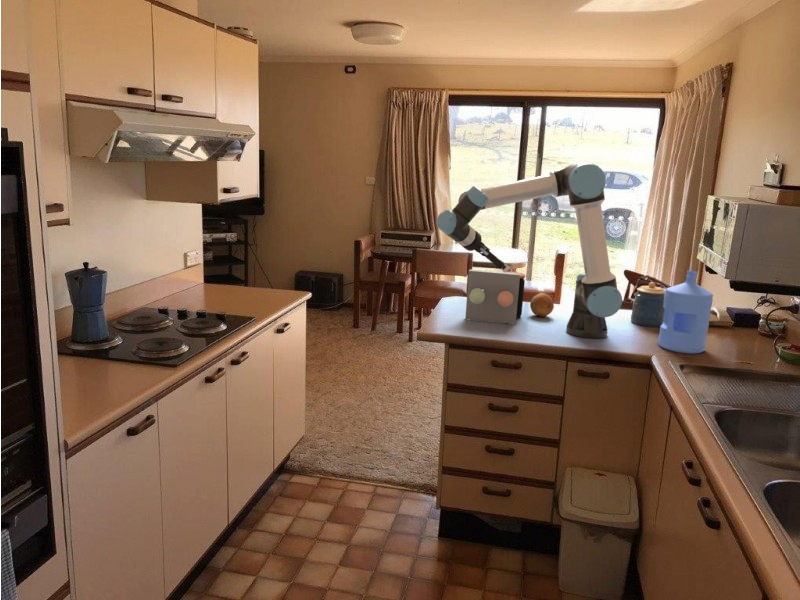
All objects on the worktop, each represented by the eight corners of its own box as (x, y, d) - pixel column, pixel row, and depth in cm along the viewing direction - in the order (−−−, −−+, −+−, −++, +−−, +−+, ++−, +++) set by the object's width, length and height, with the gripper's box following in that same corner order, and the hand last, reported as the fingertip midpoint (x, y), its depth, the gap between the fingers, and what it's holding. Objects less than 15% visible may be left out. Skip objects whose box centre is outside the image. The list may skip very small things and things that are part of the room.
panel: (466, 317, 251) (469, 269, 246) (515, 322, 246) (520, 273, 242) (465, 319, 248) (468, 270, 243) (515, 324, 244) (519, 274, 239)
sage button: (471, 299, 248) (472, 284, 247) (485, 300, 247) (487, 286, 246) (468, 303, 240) (469, 288, 239) (483, 304, 239) (485, 289, 237)
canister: (641, 327, 249) (647, 285, 245) (624, 319, 261) (629, 279, 257) (670, 327, 251) (676, 285, 248) (651, 319, 264) (657, 279, 260)
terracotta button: (498, 301, 246) (499, 287, 244) (513, 303, 244) (514, 288, 243) (496, 306, 238) (498, 291, 236) (512, 307, 236) (513, 292, 235)
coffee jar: (520, 313, 262) (524, 272, 259) (522, 319, 252) (526, 276, 248) (495, 312, 263) (498, 270, 260) (496, 317, 253) (500, 275, 249)
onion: (523, 314, 261) (526, 291, 259) (540, 312, 266) (542, 290, 264) (540, 320, 253) (543, 296, 251) (557, 317, 258) (559, 294, 256)
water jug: (679, 340, 232) (690, 267, 226) (714, 352, 217) (727, 275, 212) (647, 343, 226) (658, 268, 220) (681, 355, 212) (693, 276, 206)
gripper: (443, 228, 232) (473, 251, 247) (479, 263, 215) (509, 285, 230) (456, 213, 230) (486, 237, 245) (493, 247, 213) (523, 270, 228)
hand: (497, 260), depth 237 cm, fingers open, 13 cm apart
